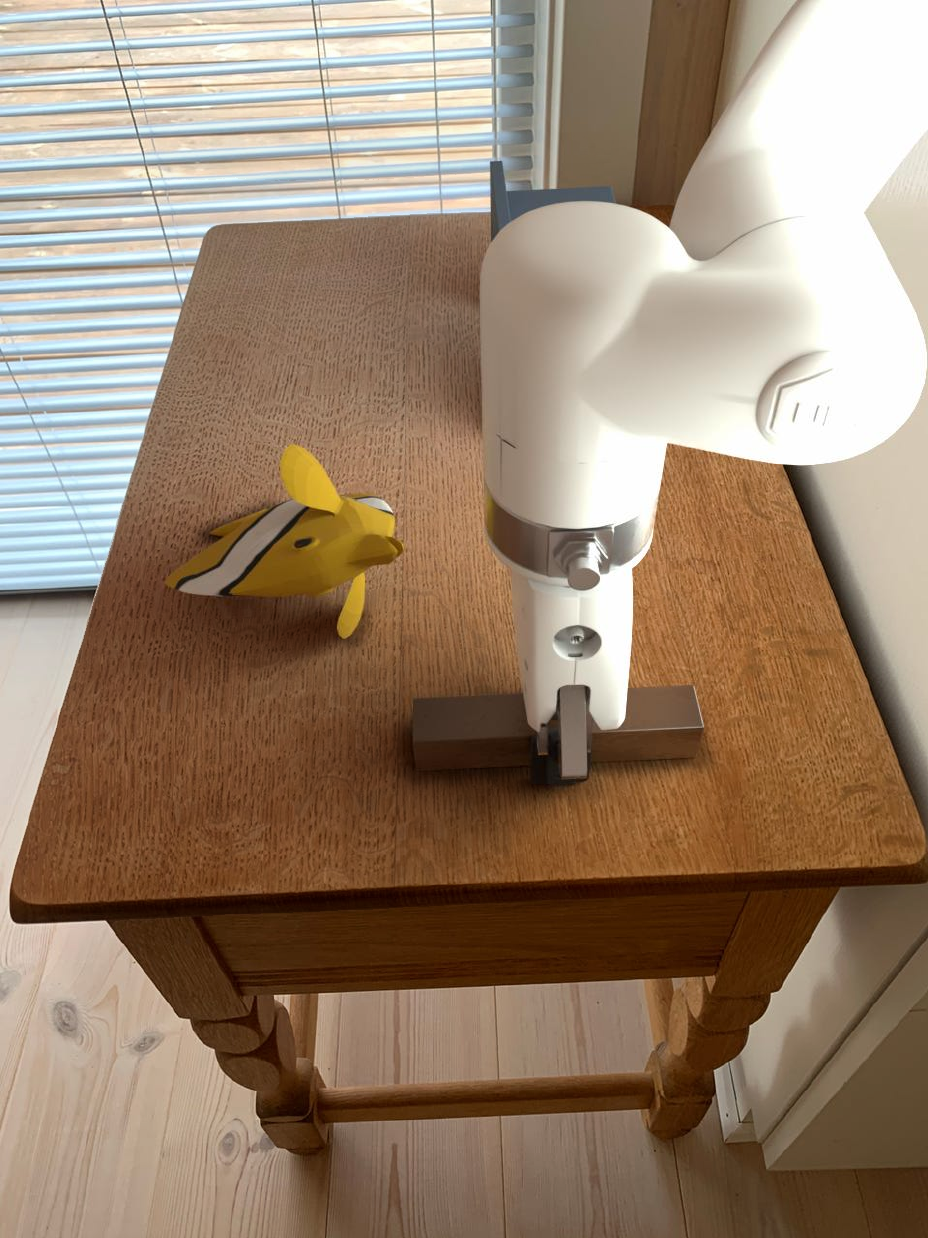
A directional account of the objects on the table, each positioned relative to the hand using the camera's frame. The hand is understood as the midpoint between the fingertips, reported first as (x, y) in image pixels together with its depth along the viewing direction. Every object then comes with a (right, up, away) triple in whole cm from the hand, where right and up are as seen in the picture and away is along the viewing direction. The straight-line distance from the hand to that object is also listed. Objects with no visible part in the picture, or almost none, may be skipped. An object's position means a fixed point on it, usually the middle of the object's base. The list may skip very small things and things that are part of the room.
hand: (554, 737), depth 57 cm
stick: (0, 0, 0) cm, 1 cm away
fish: (-16, +8, +9) cm, 21 cm away
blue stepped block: (+3, +28, +26) cm, 38 cm away
